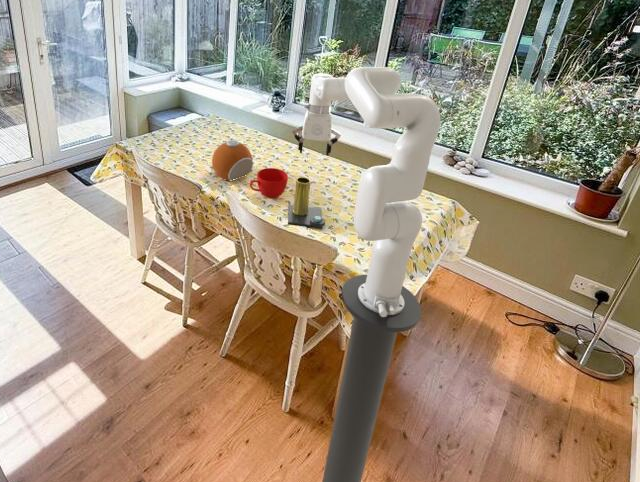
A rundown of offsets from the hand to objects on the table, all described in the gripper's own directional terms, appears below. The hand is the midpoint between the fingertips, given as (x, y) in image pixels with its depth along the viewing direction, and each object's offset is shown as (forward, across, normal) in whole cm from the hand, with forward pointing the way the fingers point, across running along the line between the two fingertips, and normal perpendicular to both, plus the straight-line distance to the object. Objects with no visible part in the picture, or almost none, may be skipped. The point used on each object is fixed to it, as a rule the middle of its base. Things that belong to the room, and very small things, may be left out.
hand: (313, 153), depth 152 cm
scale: (+28, -1, 0) cm, 28 cm away
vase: (+26, -2, +2) cm, 27 cm away
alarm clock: (+27, -34, +31) cm, 53 cm away
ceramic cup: (+27, -16, +14) cm, 35 cm away
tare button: (+25, +4, -5) cm, 26 cm away
